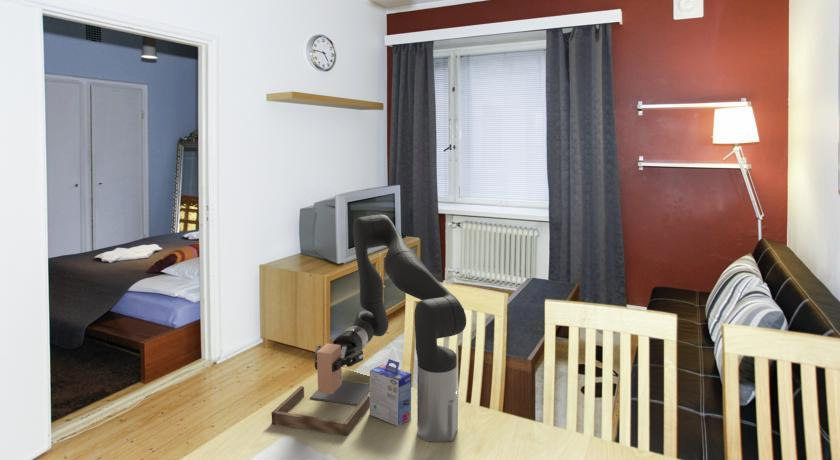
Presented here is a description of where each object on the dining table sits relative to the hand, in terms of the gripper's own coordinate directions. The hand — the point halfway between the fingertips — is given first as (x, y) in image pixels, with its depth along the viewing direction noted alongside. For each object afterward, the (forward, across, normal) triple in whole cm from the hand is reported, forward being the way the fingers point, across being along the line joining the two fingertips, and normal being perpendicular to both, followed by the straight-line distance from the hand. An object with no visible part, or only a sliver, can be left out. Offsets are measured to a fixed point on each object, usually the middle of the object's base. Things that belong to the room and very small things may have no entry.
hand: (325, 367), depth 142 cm
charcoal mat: (-10, 0, +12) cm, 16 cm away
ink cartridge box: (-1, +17, +12) cm, 21 cm away
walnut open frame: (+2, 0, +12) cm, 12 cm away
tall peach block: (-3, 0, +7) cm, 8 cm away
